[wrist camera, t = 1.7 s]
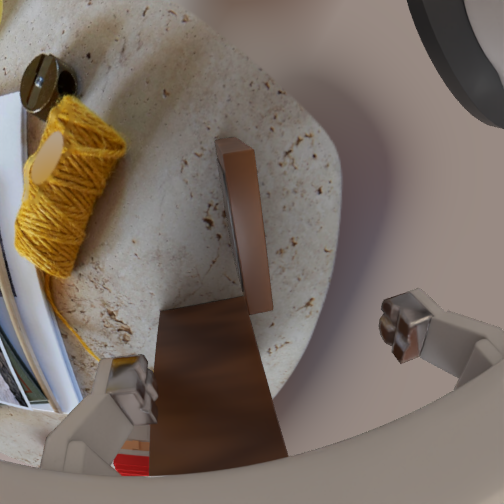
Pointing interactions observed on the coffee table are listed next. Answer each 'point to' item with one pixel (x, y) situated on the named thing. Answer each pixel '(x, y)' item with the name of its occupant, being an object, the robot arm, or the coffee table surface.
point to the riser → (211, 393)
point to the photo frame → (245, 221)
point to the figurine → (134, 453)
